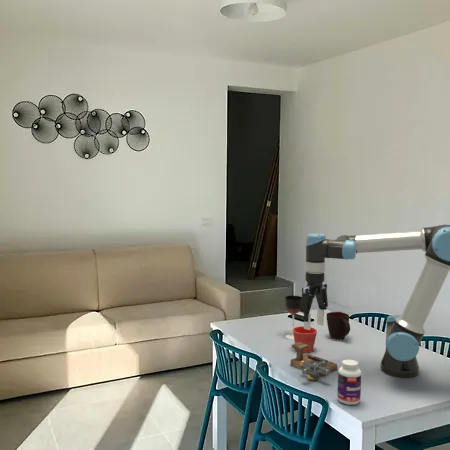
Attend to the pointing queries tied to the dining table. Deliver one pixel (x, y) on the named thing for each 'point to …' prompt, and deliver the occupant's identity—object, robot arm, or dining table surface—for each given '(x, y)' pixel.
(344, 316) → the cup
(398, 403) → the dining table surface
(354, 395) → the pill bottle
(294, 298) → the wineglass
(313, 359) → the level stand
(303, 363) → the capstan
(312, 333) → the flower pot
